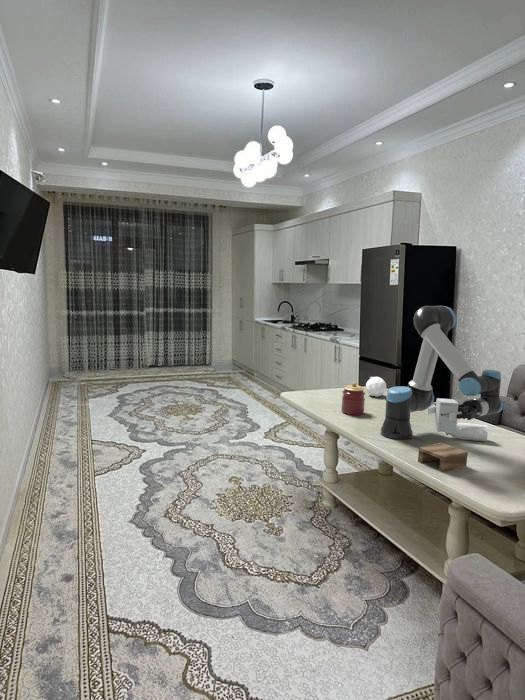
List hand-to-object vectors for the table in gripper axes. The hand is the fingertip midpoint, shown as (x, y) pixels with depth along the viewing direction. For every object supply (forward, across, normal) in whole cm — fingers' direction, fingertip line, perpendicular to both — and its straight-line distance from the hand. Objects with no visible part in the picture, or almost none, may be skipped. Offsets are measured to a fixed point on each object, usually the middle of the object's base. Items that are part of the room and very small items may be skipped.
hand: (439, 413), depth 197 cm
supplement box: (-4, 0, -8) cm, 9 cm away
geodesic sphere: (-66, +105, -22) cm, 126 cm away
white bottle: (-42, +17, -22) cm, 50 cm away
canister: (-24, +79, -22) cm, 85 cm away
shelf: (-4, 0, -22) cm, 22 cm away
